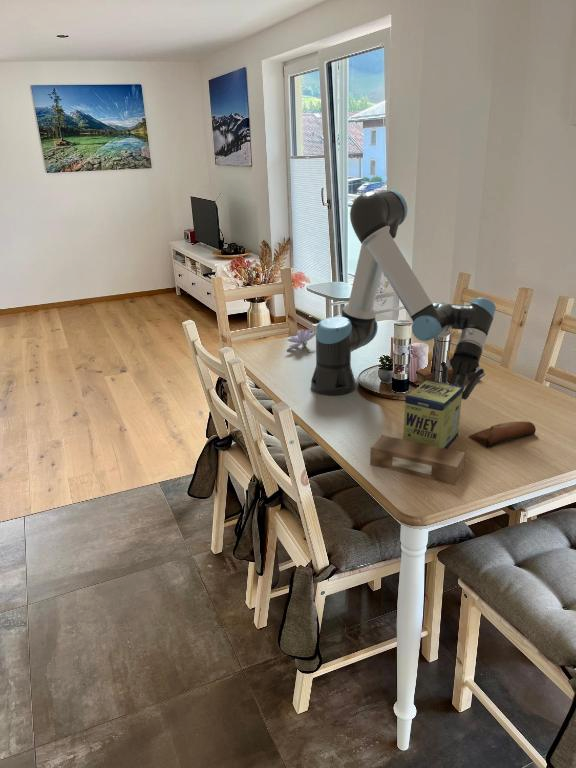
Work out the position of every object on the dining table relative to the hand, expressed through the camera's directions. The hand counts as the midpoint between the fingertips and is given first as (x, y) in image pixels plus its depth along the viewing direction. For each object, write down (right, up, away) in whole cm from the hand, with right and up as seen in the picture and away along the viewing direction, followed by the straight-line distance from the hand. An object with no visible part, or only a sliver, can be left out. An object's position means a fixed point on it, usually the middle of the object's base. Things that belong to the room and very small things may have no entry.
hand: (446, 418), depth 168 cm
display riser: (-12, -12, -17) cm, 24 cm away
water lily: (-40, +24, +73) cm, 86 cm away
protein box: (-6, -7, -5) cm, 10 cm away
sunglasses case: (+15, -6, -2) cm, 16 cm away
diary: (+7, +12, +43) cm, 45 cm away
